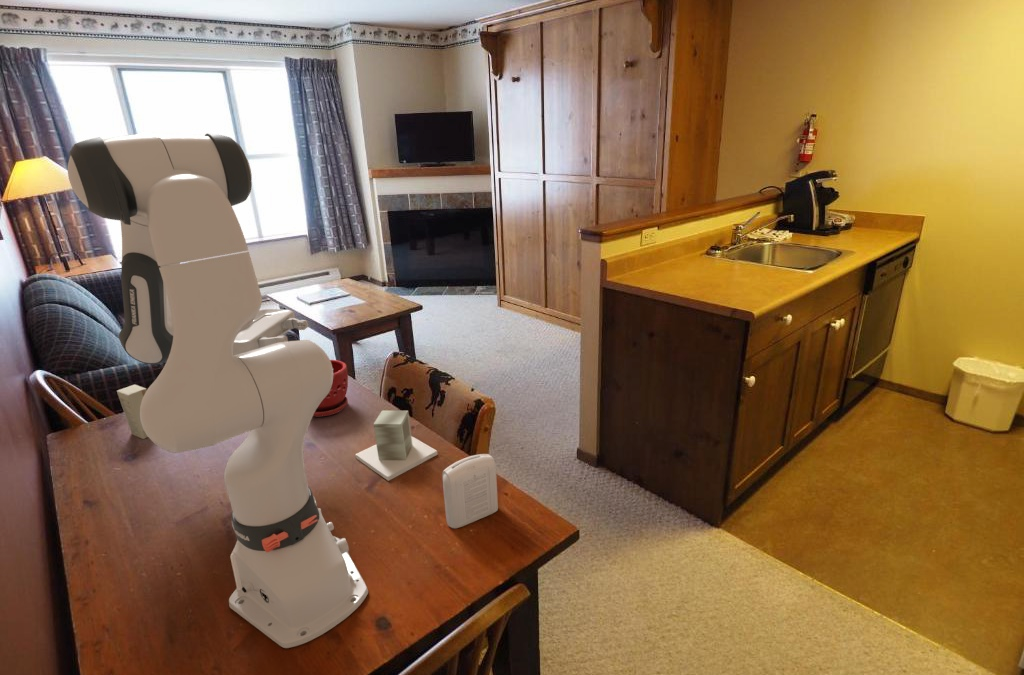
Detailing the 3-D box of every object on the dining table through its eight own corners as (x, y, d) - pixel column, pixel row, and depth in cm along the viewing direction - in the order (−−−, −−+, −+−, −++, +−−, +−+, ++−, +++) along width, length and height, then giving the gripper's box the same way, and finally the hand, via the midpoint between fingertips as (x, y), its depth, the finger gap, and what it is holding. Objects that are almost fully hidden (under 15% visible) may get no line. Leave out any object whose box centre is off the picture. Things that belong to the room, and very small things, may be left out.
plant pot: (339, 421, 138) (331, 378, 133) (291, 419, 140) (282, 377, 136) (360, 398, 150) (354, 358, 145) (316, 396, 152) (309, 357, 148)
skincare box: (161, 432, 136) (147, 388, 132) (142, 440, 133) (128, 395, 129) (148, 425, 140) (135, 383, 135) (130, 433, 136) (115, 390, 132)
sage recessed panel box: (378, 460, 118) (373, 424, 115) (387, 445, 124) (381, 410, 121) (405, 460, 118) (400, 424, 115) (412, 445, 124) (408, 410, 120)
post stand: (437, 454, 121) (434, 422, 118) (388, 480, 113) (383, 446, 110) (403, 434, 130) (399, 404, 127) (355, 458, 121) (350, 425, 119)
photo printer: (490, 499, 106) (486, 444, 101) (502, 511, 102) (498, 455, 98) (442, 520, 101) (436, 463, 96) (453, 533, 97) (447, 475, 93)
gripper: (199, 336, 103) (268, 336, 101) (255, 304, 122) (314, 303, 120) (207, 367, 105) (275, 366, 104) (261, 330, 124) (319, 330, 123)
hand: (296, 332), depth 112 cm, fingers open, 8 cm apart
